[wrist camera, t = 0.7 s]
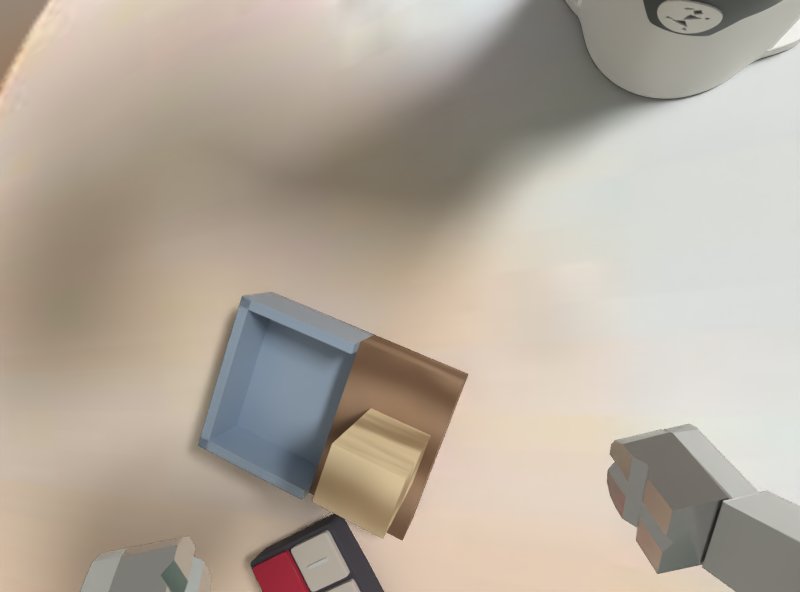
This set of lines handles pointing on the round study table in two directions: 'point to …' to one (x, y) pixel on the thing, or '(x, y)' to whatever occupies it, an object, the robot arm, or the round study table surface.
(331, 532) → the calculator
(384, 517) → the oak block
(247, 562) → the round study table surface
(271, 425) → the tray
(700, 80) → the robot arm
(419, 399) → the walnut plate
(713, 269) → the round study table surface
